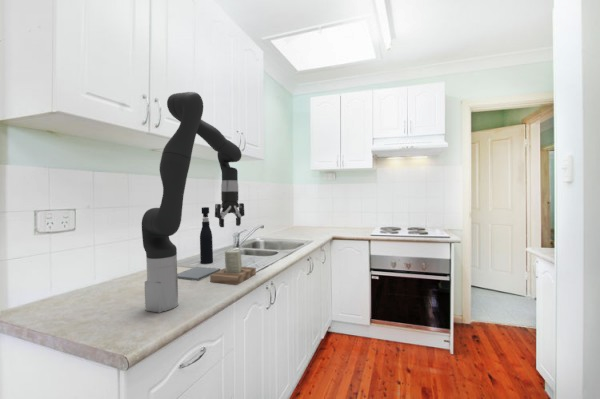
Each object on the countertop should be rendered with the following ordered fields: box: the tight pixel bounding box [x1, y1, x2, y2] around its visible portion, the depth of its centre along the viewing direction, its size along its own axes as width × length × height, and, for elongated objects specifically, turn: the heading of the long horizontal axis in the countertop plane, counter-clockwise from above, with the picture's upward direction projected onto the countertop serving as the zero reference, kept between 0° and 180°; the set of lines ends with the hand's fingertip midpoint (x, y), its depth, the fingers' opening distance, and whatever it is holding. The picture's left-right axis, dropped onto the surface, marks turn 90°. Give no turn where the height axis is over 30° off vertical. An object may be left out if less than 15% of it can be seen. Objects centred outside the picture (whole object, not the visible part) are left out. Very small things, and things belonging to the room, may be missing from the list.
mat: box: [177, 266, 221, 281], centre depth 136 cm, size 16×14×1 cm
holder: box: [209, 266, 257, 286], centre depth 129 cm, size 16×13×3 cm
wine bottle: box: [199, 206, 214, 265], centre depth 158 cm, size 6×6×30 cm
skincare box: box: [224, 249, 243, 274], centre depth 129 cm, size 6×4×12 cm
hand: (230, 226), depth 132 cm, fingers open, 8 cm apart
